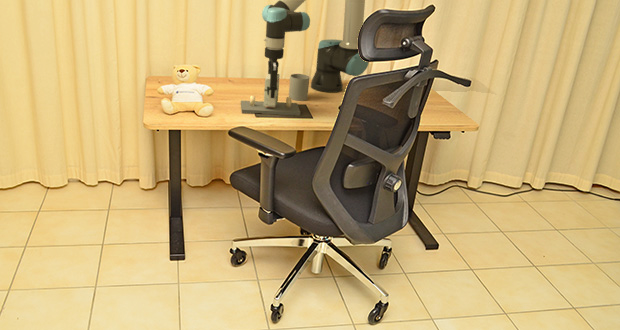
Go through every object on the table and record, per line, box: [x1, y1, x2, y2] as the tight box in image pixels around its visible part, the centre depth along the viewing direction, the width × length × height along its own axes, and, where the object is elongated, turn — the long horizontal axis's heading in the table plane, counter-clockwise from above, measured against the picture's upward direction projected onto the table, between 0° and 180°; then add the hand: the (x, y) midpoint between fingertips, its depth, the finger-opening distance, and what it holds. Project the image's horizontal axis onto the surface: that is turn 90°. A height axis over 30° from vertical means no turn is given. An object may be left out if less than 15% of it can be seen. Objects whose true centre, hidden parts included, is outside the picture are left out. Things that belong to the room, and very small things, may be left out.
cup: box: [288, 73, 310, 102], centre depth 268 cm, size 8×8×10 cm
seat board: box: [240, 95, 301, 117], centre depth 251 cm, size 24×12×6 cm, turn 98°
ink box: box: [263, 73, 281, 107], centre depth 249 cm, size 9×5×12 cm, turn 174°
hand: (270, 101), depth 250 cm, fingers closed on ink box, 9 cm apart
